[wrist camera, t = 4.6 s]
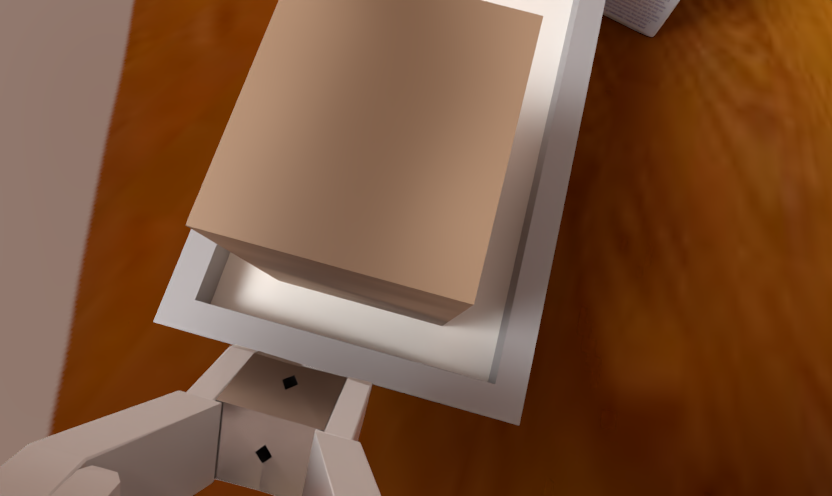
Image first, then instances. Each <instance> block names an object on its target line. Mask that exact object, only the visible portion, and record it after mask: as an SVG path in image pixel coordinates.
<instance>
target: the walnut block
mask: <svg viewBox="0 0 832 496" xmlns="http://www.w3.org/2000/svg"><path fill="white" fill-rule="evenodd" d="M542 20H543V16H541V15H538V14H534V13H530V12H526V11H522V10H518V9H514V8H510V7H506V6H502V5H498V4H494V3H490V2H487V1H483V0H279V1H278V4H277V6H276V8H275V11H274V13H273V16H272V18H271V20H270V23H269V25H268V28H267V30H266V32H265V35H264V37H263V40H262V42H261V45H260V47H259V49H258V52H257V54H256V57H255V59H254V61H253V64H252V66H251V69H250V71H249V73H248V76H247V78H246V81H245V83H244V85H243V88H242V90H241V93H240V95H239V97H238V100H237V102H236V105H235V107H234V109H233V112H232V114H231V117H230V119H229V122H228V124H227V126H226V129H225V131H224V134H223V136H222V138H221V141H220V143H219V146H218V148H217V150H216V153H215V155H214V158H213V160H212V162H211V165H210V167H209V170H208V172H207V174H206V177H205V179H204V182H203V184H202V186H201V189H200V191H199V194H198V196H197V199H196V201H195V203H194V206H193V208H192V211H191V213H190V215H189V218H188V220H187V223H186V226H188V227H189V228H191V229H193V230H194V231H196V232H198V233H199V234H201V235H203V236H204V237H206V238H208V239H209V240H211V241H213V242H214V243H216V244H218V245H219V246H221V247H223V248H224V249H226V250H228V251H230V252H231V253H233V254H235V255H236V256H238V257H240V258H241V259H243V260H245V261H246V262H248V263H250V264H251V265H253V266H255V267H256V268H258V269H260V270H261V271H263V272H265V273H266V274H268V275H270V276H271V277H273V278H275V279H276V280H278V281H281V282H285V283H288V284H292V285H296V286H299V287H303V288H306V289H310V290H314V291H317V292H321V293H324V294H328V295H332V296H335V297H339V298H342V299H346V300H350V301H353V302H357V303H360V304H364V305H368V306H371V307H375V308H378V309H382V310H386V311H389V312H393V313H396V314H400V315H403V316H407V317H411V318H414V319H418V320H421V321H425V322H429V323H432V324H436V325H439V326H443V325H444V324H446V323H447V322H449V321H450V320H452V319H453V318H455V317H456V316H458V315H459V314H461V313H462V312H464V311H465V310H467V309H468V308H470V307H471V306H473V305H474V302H475V298H476V294H477V290H478V286H479V281H480V277H481V273H482V269H483V265H484V261H485V257H486V252H487V248H488V244H489V240H490V236H491V232H492V227H493V223H494V219H495V215H496V211H497V207H498V202H499V198H500V194H501V190H502V186H503V182H504V178H505V173H506V169H507V165H508V161H509V157H510V153H511V148H512V144H513V140H514V136H515V132H516V128H517V124H518V119H519V115H520V111H521V107H522V103H523V99H524V94H525V90H526V86H527V82H528V78H529V74H530V69H531V65H532V61H533V57H534V53H535V49H536V45H537V40H538V36H539V32H540V28H541V24H542Z"/></svg>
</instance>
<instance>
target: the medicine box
mask: <svg viewBox="0 0 832 496" xmlns="http://www.w3.org/2000/svg"><path fill="white" fill-rule="evenodd" d="M679 1H680V0H605V5H604V10H603V15H605V16H607V17H609V18H611V19H613V20H615V21H617V22H619V23H621V24H623V25H625V26H627V27H629V28H631V29H633V30H635V31H637V32H639V33H642V34H644V35H646V36H649V37H653V36H655V34H656V33H657V32H658V30H659V29H660V28H661V26H662V25H663V24H664V22H665V21H666V19H667V18H668V17H669V15H670V14H671V12H672V11H673V10H674V8H675V7H676V5H677V4H678V2H679Z"/></svg>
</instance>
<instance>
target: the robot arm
mask: <svg viewBox="0 0 832 496" xmlns="http://www.w3.org/2000/svg"><path fill="white" fill-rule="evenodd" d="M371 388H372V383H371V382H368V381H364V380H360V379H356V378H352V377H346V376H342V375H338V374H335V373H331V372H328V371H324V370H320V369H317V368H313V367H309V366H306V365H303V364H300V363H297V362H293V361H290V360H287V359H284V358H280V357H277V356H274V355H271V354H267V353H264V352H261V351H256V350H253V349H250V348H246V347H243V346H240V345H236V344H235V345H233V346H230V347H229V348H228V349H227V350H226V351H225V352H224V353H223V354H222V355H221V356H220V357H219V358H218V359H217V360H216V361H215V362H214V364H213V365H212V366H211V367H210V368H209V369H208V370H207V371H206V372H205V373H204V374H203V375H202V376H201V377H200V378H199V379H198V380H197V381H196V383H195V384H194V385H193V386H192V387H191V388H190V389H189V390H188V391H187V392H183V391H176V392H173V393H170V394H168V395H165V396H162V397H159V398H156V399H153V400H151V401H148V402H145V403H142V404H139V405H136V406H134V407H131V408H128V409H125V410H122V411H119V412H117V413H114V414H111V415H108V416H105V417H102V418H100V419H97V420H94V421H91V422H88V423H86V424H83V425H80V426H77V427H74V428H71V429H69V430H66V431H63V432H60V433H57V434H54V435H52V436H49V437H46V438H43V439H40V440H38V441H35V442H32V443H29V444H28V445H26V446H25V447H24V448H23V449H22V450H20V451H19V452H18V453H16V454H15V455H14V456H13V457H11V458H10V459H9V460H8V461H6V462H5V463H4V464H3V465H1V466H0V496H193V495H194V494H196V493H197V492H199V491H200V490H202V489H203V488H205V487H207V486H208V485H210V484H211V483H213V482H214V479H217V480H221V481H225V482H229V483H233V484H237V485H240V486H244V487H248V488H252V489H256V490H259V491H262V492H266V493H269V494H272V495H275V496H381V494H380V492H379V489H378V486H377V484H376V481H375V479H374V476H373V474H372V471H371V469H370V466H369V463H368V461H367V458H366V456H365V453H364V451H363V448H362V446H361V443H360V442H358V439H359V435H360V431H361V428H362V424H363V420H364V416H365V412H366V408H367V404H368V400H369V396H370V392H371Z"/></svg>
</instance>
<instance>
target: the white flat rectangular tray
mask: <svg viewBox="0 0 832 496" xmlns="http://www.w3.org/2000/svg"><path fill="white" fill-rule="evenodd" d="M483 1H487V2H490V3H494V4H498V5H502V6H506V7H510V8H514V9H518V10H522V11H526V12H530V13H534V14H538V15H541V16H543V20H542V24H541V28H540V32H539V36H538V40H537V45H536V49H535V53H534V57H533V61H532V65H531V69H530V74H529V78H528V82H527V86H526V90H525V94H524V99H523V103H522V107H521V111H520V115H519V119H518V124H517V128H516V132H515V136H514V140H513V144H512V148H511V153H510V157H509V161H508V165H507V169H506V173H505V178H504V182H503V186H502V190H501V194H500V198H499V202H498V207H497V211H496V215H495V219H494V223H493V227H492V232H491V236H490V240H489V244H488V248H487V252H486V257H485V261H484V265H483V269H482V273H481V277H480V281H479V286H478V290H477V294H476V298H475V302H474V305H473V306H471V307H470V308H468V309H467V310H465V311H464V312H462V313H461V314H459V315H458V316H456V317H455V318H453V319H452V320H450V321H449V322H447V323H446V324H444V325H443V326H439V325H436V324H432V323H429V322H425V321H421V320H418V319H414V318H411V317H407V316H403V315H400V314H396V313H393V312H389V311H386V310H382V309H378V308H375V307H371V306H368V305H364V304H360V303H357V302H353V301H350V300H346V299H342V298H339V297H335V296H332V295H328V294H324V293H321V292H317V291H314V290H310V289H306V288H303V287H299V286H296V285H292V284H288V283H285V282H281V281H278V280H276V279H275V278H273V277H271V276H270V275H268V274H266V273H265V272H263V271H261V270H260V269H258V268H256V267H255V266H253V265H251V264H250V263H248V262H246V261H245V260H243V259H241V258H240V257H238V256H236V255H235V254H233V253H231V252H230V251H228V250H226V249H224V248H223V247H221V246H219V245H218V244H216V243H214V242H213V241H211V240H209V239H208V238H206V237H204V236H203V235H201V234H199V233H198V232H196V231H194V230H193V229H191V231H190V233H189V236H188V238H187V241H186V243H185V246H184V248H183V250H182V253H181V255H180V258H179V260H178V263H177V265H176V267H175V270H174V272H173V275H172V277H171V280H170V282H169V285H168V287H167V289H166V292H165V294H164V297H163V299H162V302H161V304H160V306H159V309H158V311H157V314H156V316H155V319H154V321H153V322H155V323H159V324H162V325H166V326H169V327H173V328H176V329H180V330H183V331H187V332H190V333H194V334H197V335H201V336H204V337H208V338H211V339H215V340H219V341H222V342H226V343H229V344H233V345H235V344H236V345H240V346H243V347H246V348H250V349H253V350H256V351H261V352H264V353H267V354H271V355H274V356H277V357H280V358H284V359H287V360H290V361H293V362H297V363H300V364H303V365H307V366H310V367H314V368H317V369H321V370H324V371H328V372H331V373H335V374H339V375H342V376H346V377H352V378H356V379H360V380H364V381H368V382H371V383H372V384H374V385H377V386H381V387H384V388H388V389H391V390H395V391H399V392H402V393H406V394H409V395H413V396H416V397H420V398H423V399H427V400H430V401H434V402H437V403H441V404H444V405H448V406H451V407H455V408H459V409H462V410H466V411H469V412H473V413H476V414H480V415H483V416H487V417H490V418H494V419H497V420H501V421H504V422H508V423H511V424H515V425H520V420H521V415H522V410H523V405H524V400H525V395H526V390H527V385H528V381H529V376H530V371H531V366H532V361H533V356H534V351H535V346H536V341H537V336H538V331H539V326H540V321H541V316H542V311H543V306H544V302H545V297H546V292H547V287H548V282H549V277H550V272H551V267H552V262H553V257H554V252H555V247H556V242H557V237H558V232H559V227H560V223H561V218H562V213H563V208H564V203H565V198H566V193H567V188H568V183H569V178H570V173H571V168H572V163H573V158H574V153H575V148H576V144H577V139H578V134H579V129H580V124H581V119H582V114H583V109H584V104H585V99H586V94H587V89H588V84H589V79H590V74H591V69H592V65H593V60H594V55H595V50H596V45H597V40H598V35H599V30H600V25H601V20H602V15H603V10H604V5H605V0H483Z"/></svg>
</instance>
